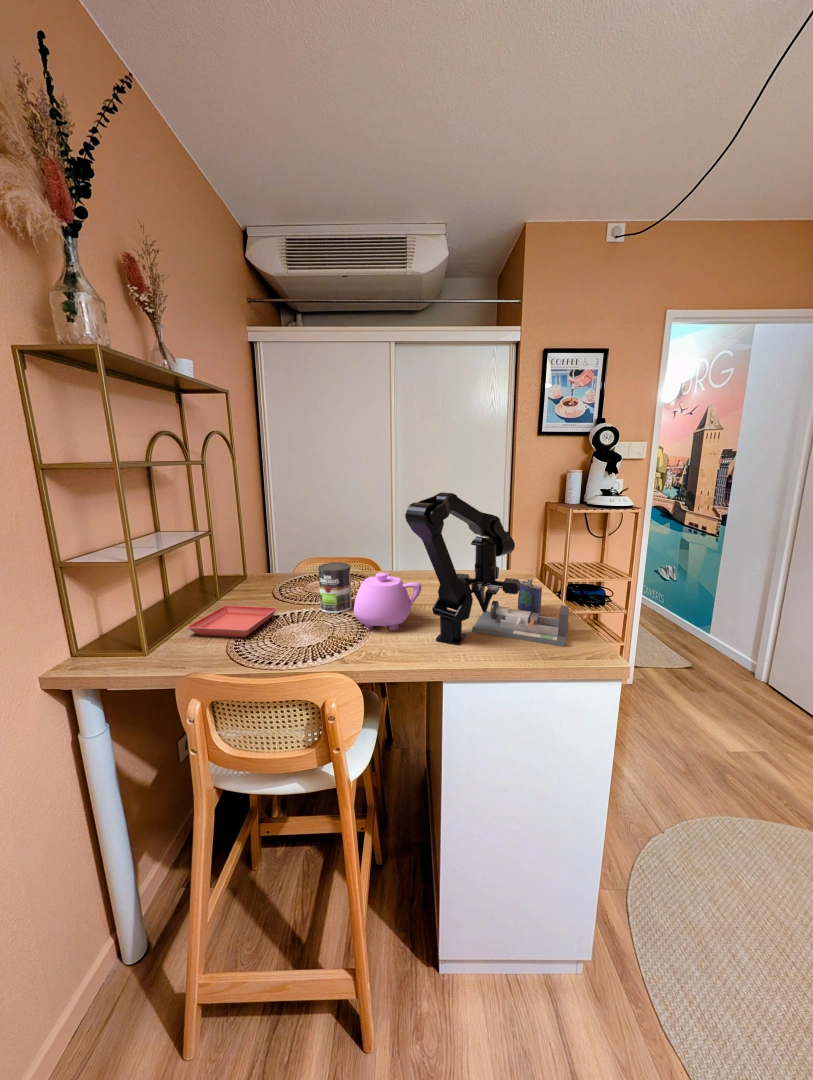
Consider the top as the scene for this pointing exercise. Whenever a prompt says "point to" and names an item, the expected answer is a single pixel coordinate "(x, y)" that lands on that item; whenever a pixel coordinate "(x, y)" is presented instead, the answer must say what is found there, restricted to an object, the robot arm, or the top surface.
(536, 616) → the marker
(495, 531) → the robot arm
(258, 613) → the plant saucer
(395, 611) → the teapot
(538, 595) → the flask
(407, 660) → the top surface
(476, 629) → the gauge bench
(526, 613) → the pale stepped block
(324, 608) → the coffee can
